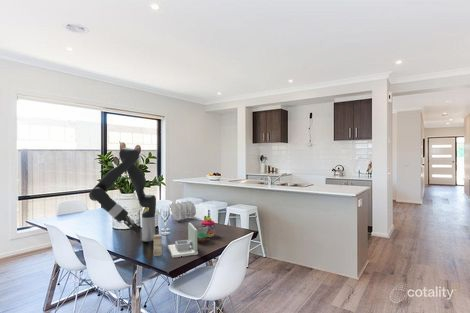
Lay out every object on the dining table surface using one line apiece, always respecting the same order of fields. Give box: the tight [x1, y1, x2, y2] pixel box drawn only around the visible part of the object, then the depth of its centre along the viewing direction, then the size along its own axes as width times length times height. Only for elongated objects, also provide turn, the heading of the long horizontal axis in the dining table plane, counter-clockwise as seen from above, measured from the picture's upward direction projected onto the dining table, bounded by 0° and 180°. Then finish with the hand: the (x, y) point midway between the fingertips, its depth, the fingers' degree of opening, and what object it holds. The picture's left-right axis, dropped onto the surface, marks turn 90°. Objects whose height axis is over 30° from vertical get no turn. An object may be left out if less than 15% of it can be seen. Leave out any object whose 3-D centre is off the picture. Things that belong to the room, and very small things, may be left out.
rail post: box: [152, 233, 163, 257], centre depth 172 cm, size 4×4×12 cm
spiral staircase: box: [168, 200, 197, 222], centre depth 266 cm, size 18×18×25 cm
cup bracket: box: [167, 222, 199, 258], centre depth 179 cm, size 20×16×16 cm
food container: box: [196, 226, 208, 243], centre depth 198 cm, size 12×6×10 cm, turn 126°
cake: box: [200, 215, 216, 238], centre depth 212 cm, size 10×11×15 cm
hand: (138, 229), depth 167 cm, fingers open, 8 cm apart
